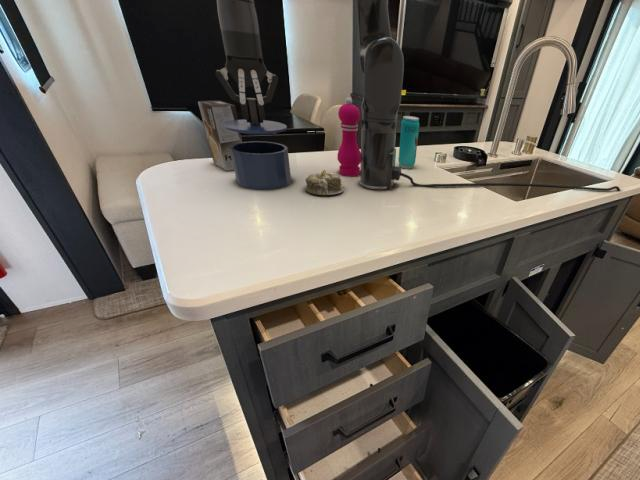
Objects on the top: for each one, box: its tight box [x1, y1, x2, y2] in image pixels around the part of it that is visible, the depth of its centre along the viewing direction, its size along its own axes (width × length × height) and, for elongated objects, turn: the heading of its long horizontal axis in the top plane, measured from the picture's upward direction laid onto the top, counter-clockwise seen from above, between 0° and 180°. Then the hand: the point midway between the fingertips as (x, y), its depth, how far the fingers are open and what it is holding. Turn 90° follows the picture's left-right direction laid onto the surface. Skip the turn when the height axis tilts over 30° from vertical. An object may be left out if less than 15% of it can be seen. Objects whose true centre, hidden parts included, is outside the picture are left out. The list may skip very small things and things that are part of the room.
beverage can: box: [398, 115, 420, 170], centre depth 106 cm, size 6×6×15 cm
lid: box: [222, 97, 288, 136], centre depth 77 cm, size 15×15×7 cm
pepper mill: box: [336, 96, 361, 177], centre depth 93 cm, size 7×7×20 cm
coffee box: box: [197, 100, 243, 172], centre depth 90 cm, size 9×6×16 cm
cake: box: [305, 169, 345, 196], centre depth 84 cm, size 10×10×5 cm
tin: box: [230, 140, 292, 191], centre depth 84 cm, size 14×14×8 cm
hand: (255, 121), depth 78 cm, fingers closed on lid, 2 cm apart
